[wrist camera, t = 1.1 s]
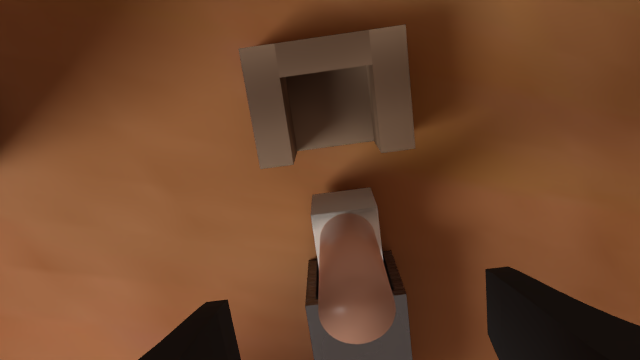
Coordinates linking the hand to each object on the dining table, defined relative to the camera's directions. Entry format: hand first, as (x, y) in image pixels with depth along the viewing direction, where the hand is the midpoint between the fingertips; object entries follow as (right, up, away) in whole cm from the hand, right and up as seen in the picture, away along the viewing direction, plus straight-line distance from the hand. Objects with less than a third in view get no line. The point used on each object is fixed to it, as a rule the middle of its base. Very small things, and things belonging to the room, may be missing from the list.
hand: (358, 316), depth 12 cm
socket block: (-1, +8, +7) cm, 10 cm away
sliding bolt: (+1, -2, +9) cm, 9 cm away
